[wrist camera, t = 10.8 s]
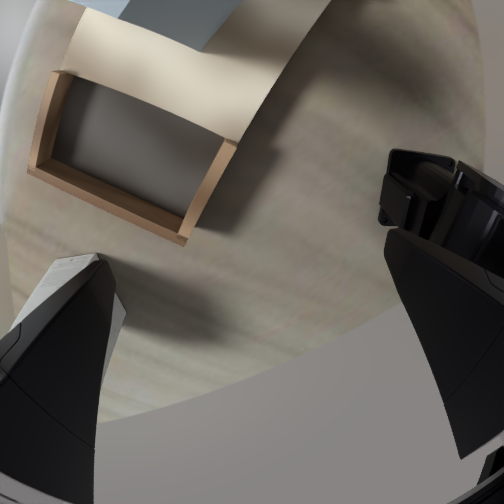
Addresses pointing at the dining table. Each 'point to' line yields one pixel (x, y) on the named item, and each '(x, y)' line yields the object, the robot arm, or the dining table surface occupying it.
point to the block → (171, 17)
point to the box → (159, 110)
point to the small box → (59, 276)
